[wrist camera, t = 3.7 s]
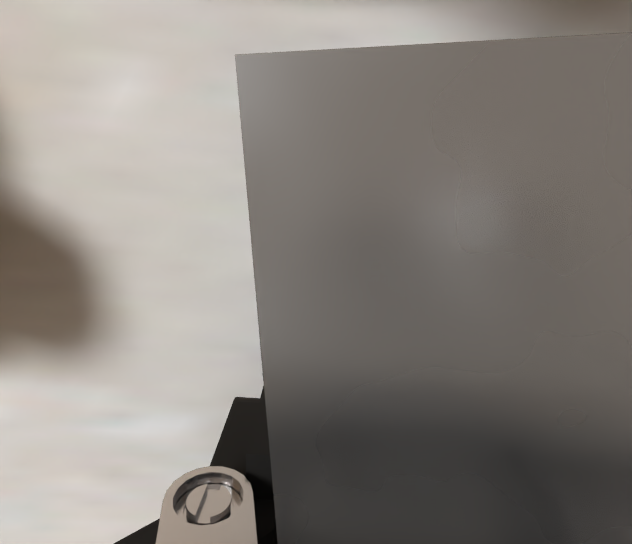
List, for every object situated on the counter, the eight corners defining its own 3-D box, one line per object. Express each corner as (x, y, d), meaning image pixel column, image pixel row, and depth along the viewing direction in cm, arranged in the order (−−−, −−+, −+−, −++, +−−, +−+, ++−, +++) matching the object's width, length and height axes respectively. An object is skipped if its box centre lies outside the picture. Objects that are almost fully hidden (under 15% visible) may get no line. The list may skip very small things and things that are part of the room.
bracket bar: (476, 104, 9) (726, 27, 4) (453, 603, 13) (554, 964, 7) (290, 114, 9) (236, 53, 4) (318, 605, 13) (314, 962, 7)
